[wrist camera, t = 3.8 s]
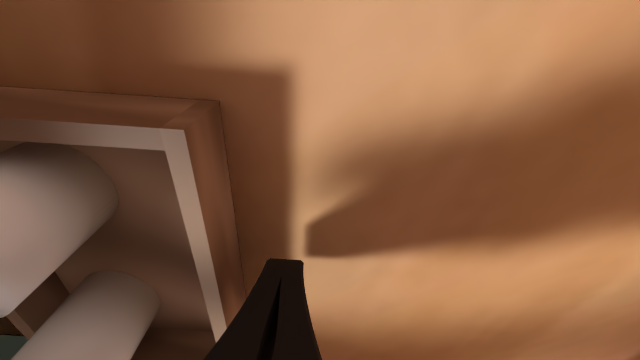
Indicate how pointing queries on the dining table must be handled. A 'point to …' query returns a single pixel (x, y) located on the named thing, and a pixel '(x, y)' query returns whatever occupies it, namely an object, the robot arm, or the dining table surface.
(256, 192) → the dining table surface
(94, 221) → the pale pink cylinder
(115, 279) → the cup
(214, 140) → the tray
